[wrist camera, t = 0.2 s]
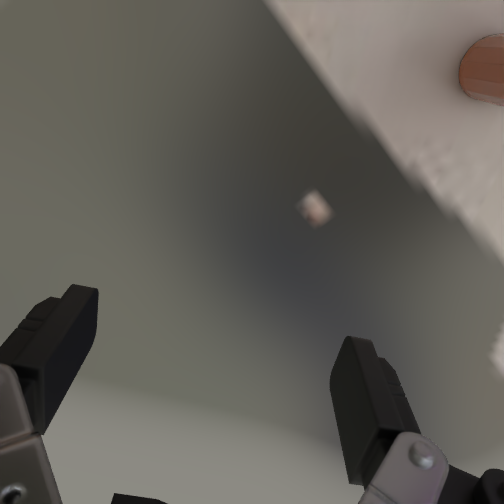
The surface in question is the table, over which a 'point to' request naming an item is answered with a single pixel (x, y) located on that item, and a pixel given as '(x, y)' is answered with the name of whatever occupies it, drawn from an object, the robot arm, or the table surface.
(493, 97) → the cup
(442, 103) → the table surface
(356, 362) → the robot arm
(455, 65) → the table surface
